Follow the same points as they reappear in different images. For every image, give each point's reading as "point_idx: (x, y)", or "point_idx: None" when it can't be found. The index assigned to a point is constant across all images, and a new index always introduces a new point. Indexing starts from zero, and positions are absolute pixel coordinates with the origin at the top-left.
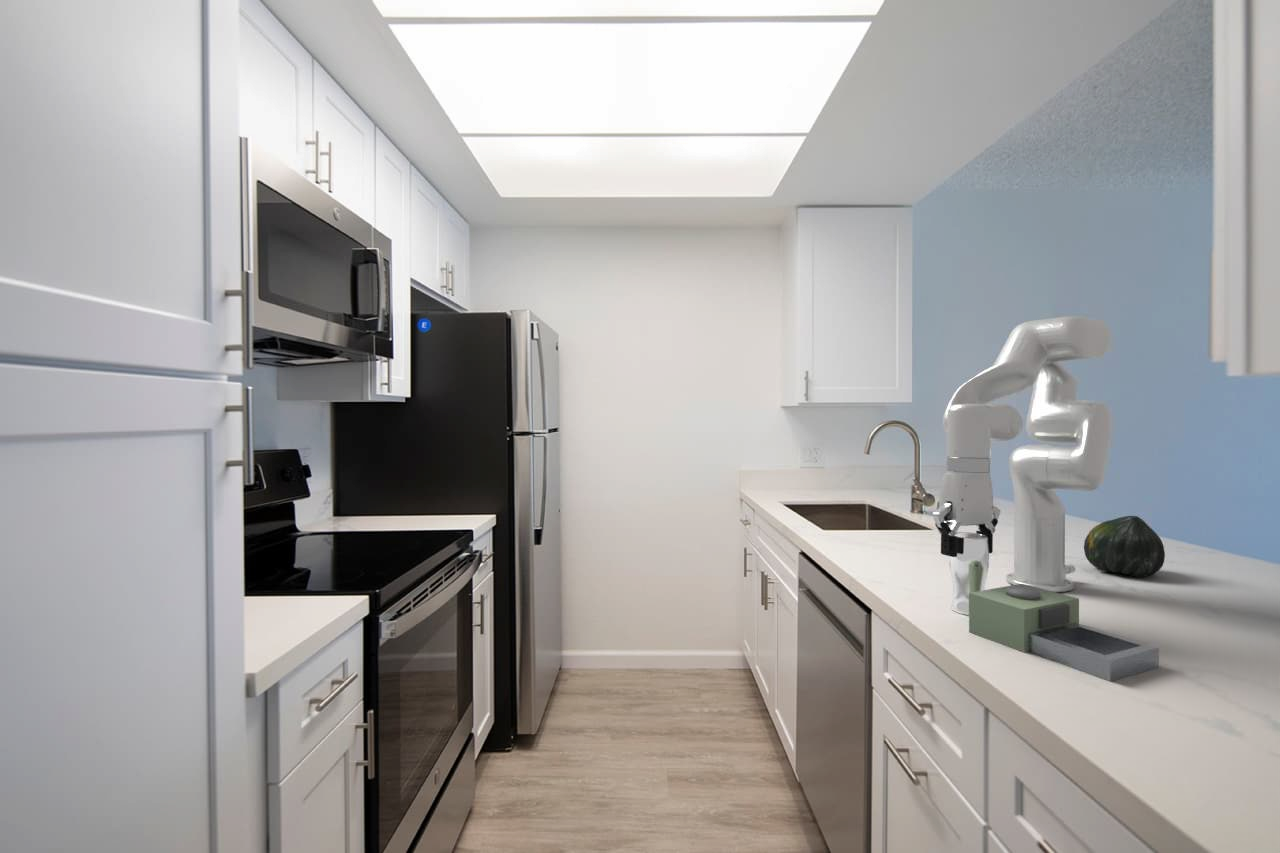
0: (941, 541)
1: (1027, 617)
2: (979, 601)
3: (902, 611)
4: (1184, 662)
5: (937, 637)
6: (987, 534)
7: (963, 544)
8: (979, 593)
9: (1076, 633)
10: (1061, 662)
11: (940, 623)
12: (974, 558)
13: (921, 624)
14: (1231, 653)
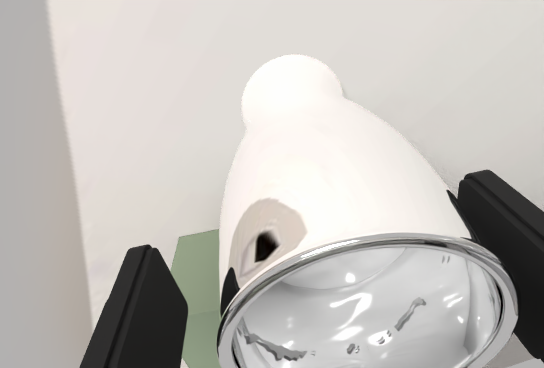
0: (103, 319)
1: None
2: None
3: (57, 64)
4: None
5: (85, 250)
6: (536, 347)
7: (246, 348)
8: (186, 326)
9: None
10: None
11: (138, 181)
12: (286, 299)
13: (79, 179)
14: (520, 343)
